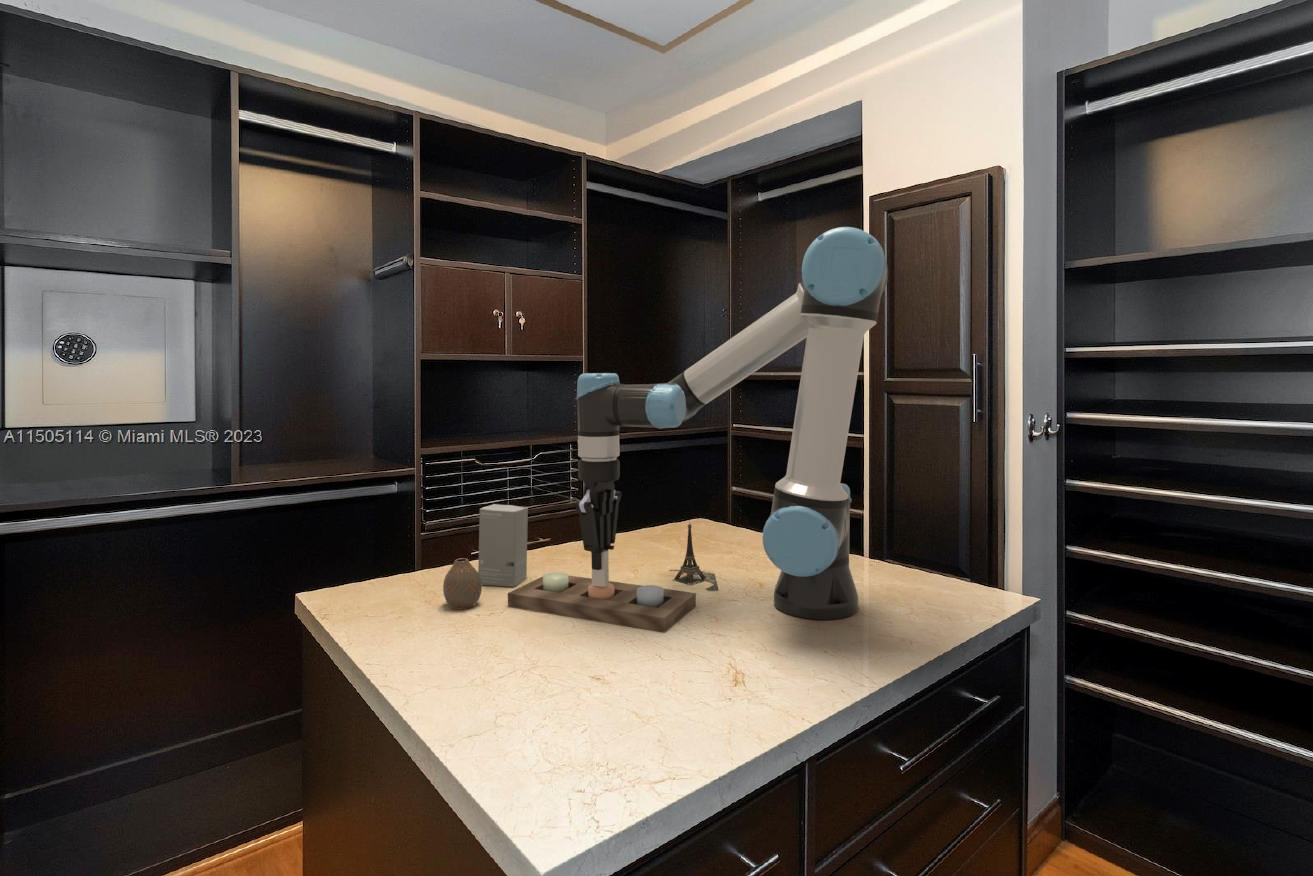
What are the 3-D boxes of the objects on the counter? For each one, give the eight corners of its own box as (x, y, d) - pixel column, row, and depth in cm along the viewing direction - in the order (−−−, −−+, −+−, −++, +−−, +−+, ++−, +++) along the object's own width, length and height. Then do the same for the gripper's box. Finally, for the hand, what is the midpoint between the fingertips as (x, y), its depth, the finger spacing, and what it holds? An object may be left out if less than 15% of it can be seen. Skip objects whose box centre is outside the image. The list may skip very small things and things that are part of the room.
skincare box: (477, 585, 142) (474, 509, 140) (493, 575, 149) (491, 502, 147) (516, 588, 140) (513, 510, 138) (530, 578, 147) (528, 504, 145)
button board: (696, 606, 128) (696, 593, 128) (664, 632, 115) (664, 617, 115) (550, 584, 142) (550, 572, 141) (508, 606, 129) (507, 593, 129)
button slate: (667, 603, 125) (667, 587, 125) (656, 611, 121) (656, 595, 121) (644, 599, 127) (643, 583, 127) (632, 608, 123) (631, 591, 123)
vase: (471, 613, 126) (470, 565, 125) (436, 610, 127) (435, 564, 126) (488, 600, 132) (486, 555, 132) (455, 598, 134) (453, 554, 133)
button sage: (573, 589, 134) (573, 574, 133) (559, 596, 129) (559, 581, 129) (552, 586, 136) (552, 571, 136) (538, 593, 132) (537, 578, 131)
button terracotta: (619, 600, 130) (618, 584, 129) (606, 608, 125) (606, 592, 125) (596, 596, 132) (596, 581, 131) (583, 604, 127) (583, 588, 127)
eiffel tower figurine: (720, 594, 136) (719, 527, 135) (668, 594, 136) (667, 528, 135) (713, 572, 151) (713, 511, 150) (667, 572, 151) (666, 512, 150)
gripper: (598, 453, 133) (600, 573, 136) (561, 461, 122) (563, 592, 124) (633, 455, 130) (634, 578, 132) (598, 464, 118) (600, 598, 121)
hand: (600, 585), depth 128 cm, fingers closed
